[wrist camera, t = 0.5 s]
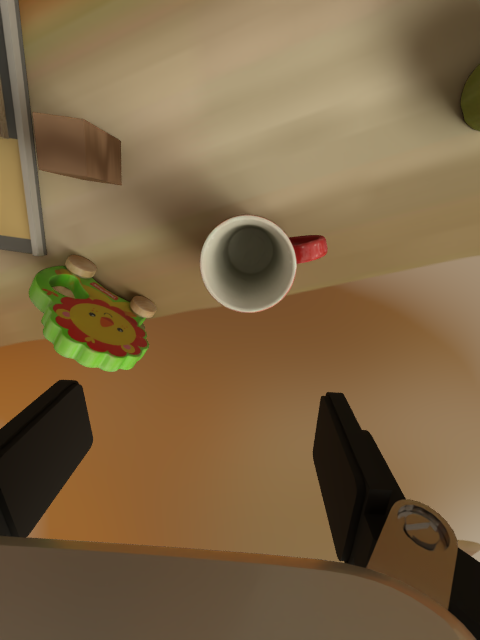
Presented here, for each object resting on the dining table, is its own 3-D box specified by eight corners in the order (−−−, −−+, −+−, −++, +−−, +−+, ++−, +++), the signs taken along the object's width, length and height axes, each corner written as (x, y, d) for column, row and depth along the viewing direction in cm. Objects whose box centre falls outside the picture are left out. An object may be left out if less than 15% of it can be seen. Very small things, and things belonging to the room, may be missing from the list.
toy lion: (64, 281, 41) (-37, 314, 27) (79, 251, 39) (-20, 269, 25) (156, 340, 44) (109, 399, 29) (174, 314, 42) (133, 363, 28)
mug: (223, 287, 40) (210, 319, 27) (211, 222, 37) (189, 224, 24) (311, 273, 39) (340, 300, 26) (306, 205, 36) (335, 197, 23)
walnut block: (80, 135, 34) (32, 112, 27) (120, 140, 34) (83, 119, 27) (83, 179, 36) (38, 169, 28) (121, 185, 36) (86, 176, 28)
